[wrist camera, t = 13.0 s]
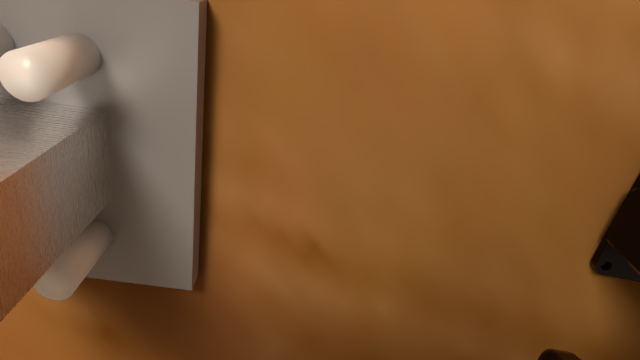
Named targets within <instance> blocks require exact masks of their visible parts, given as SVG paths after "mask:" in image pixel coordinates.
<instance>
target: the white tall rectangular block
mask: <svg viewBox="0 0 640 360" xmlns="http://www.w3.org/2000/svg"><path fill="white" fill-rule="evenodd" d="M111 200H112V186H111V170H110V154H109V139H108V123H107V110H103V109H96V108H89V107H82V106H74V105H67V104H60V103H53V102H45V101H36V102H26V101H22V100H20V99H17V98H16V97H9V96H2V95H0V322H1V321H2V320H3V319H4V318H5V317H6V315H7V314H8V313H9V312H10V311H11V310H12V309H13V308H14V307H15V306H16V304H17V303H18V302H19V301H20V300H21V299H22V298H23V297H24V296H25V294H26V293H27V292H28V291H29V290H30V289H31V288H32V287H33V286H34V285H35V283H36V282H37V281H38V280H39V279H40V278H41V277H42V276H43V275H44V274H45V272H46V271H47V270H48V269H49V268H50V267H51V266H52V265H53V264H54V262H55V261H56V260H57V259H58V258H59V257H60V256H61V255H62V254H63V253H64V251H65V250H66V249H67V248H68V247H69V246H70V245H71V244H72V243H73V242H74V240H75V239H76V238H77V237H78V236H79V235H80V234H81V233H82V232H83V230H84V229H85V228H86V227H87V226H88V225H89V224H90V223H91V222H92V221H93V219H94V218H95V217H96V216H97V215H98V214H99V213H100V212H101V211H102V209H103V208H104V207H105V206H106V205H107V204H108V203H109V202H110V201H111Z"/></svg>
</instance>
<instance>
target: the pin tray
mask: <svg viewBox="0 0 640 360" xmlns="http://www.w3.org/2000/svg"><path fill="white" fill-rule="evenodd" d="M206 23H207V0H0V95H2V96H9V97H16V98H17V99H20V100H22V101H26V102H36V101H45V102H53V103H60V104H67V105H74V106H82V107H89V108H96V109H103V110H107V123H108V139H109V154H110V170H111V186H112V200H111V201H110V202H109V203H108V204H107V205H106V206H105V207H104V208H103V209H102V211H101V212H100V213H99V214H98V215H97V216H96V217H95V218H94V219H93V221H92V222H91V223H90V224H89V225H88V226H87V227H86V228H85V229H84V230H83V232H82V233H81V234H80V235H79V236H78V237H77V238H76V239H75V240H74V242H73V243H72V244H71V245H70V246H69V247H68V248H67V249H66V250H65V251H64V253H63V254H62V255H61V256H60V257H59V258H58V259H57V260H56V261H55V262H54V264H53V265H52V266H51V267H50V268H49V269H48V270H47V271H46V272H45V274H44V275H43V276H42V277H41V278H40V279H39V280H38V281H37V282H36V283H35V285H34V286H33V287H34V289H35V290H36V291H37V292H38V293H39V294H40V295H42V296H43V297H45V298H48V299H51V300H57V301H58V300H65V299H67V298H69V297H70V296H71V295H72V294H73V293H74V291H75V290H76V289H77V287H78V286H79V285H80V283H81V282H82V281H83V280H84V278H85V277H86V278H94V279H102V280H111V281H119V282H127V283H135V284H143V285H151V286H159V287H167V288H175V289H183V290H191V291H192V289H193V287H194V284H195V282H196V279H197V277H198V269H199V238H200V207H201V177H202V146H203V115H204V84H205V54H206Z"/></svg>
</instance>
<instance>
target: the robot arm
mask: <svg viewBox="0 0 640 360" xmlns="http://www.w3.org/2000/svg"><path fill="white" fill-rule="evenodd" d="M604 262H606V263H605V264H604V265H602V264H603V263H604ZM591 265H592V267H593V268H594V269H595V270H596V271H597V273H599V274H602V275H607V276H612V277H617V278H622V279H628V280H633V281H638V282H640V175H639V177H638V179H637V181H636V182H635V184H634V186H633V188H632V189H631V191H630V193H629V195H628V197H627V198H626V200H625V202H624V204H623V205H622V207H621V209H620V211H619V212H618V214H617V216H616V218H615V219H614V221H613V223H612V225H611V226H610V228H609V230H608V232H607V233H606V235H605V237H604V239H603V241H602V242H601V244H600V246H599V248H598V249H597V251H596V253H595V255H594V256H593V258H592V261H591ZM538 360H581V359H580V358H578V357H577V356H576V355H574V354H573V353H570V352H567V351H561V350H555V349H546V350H545V351H543V352H542V353H541V355H540V357H539V358H538Z"/></svg>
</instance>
